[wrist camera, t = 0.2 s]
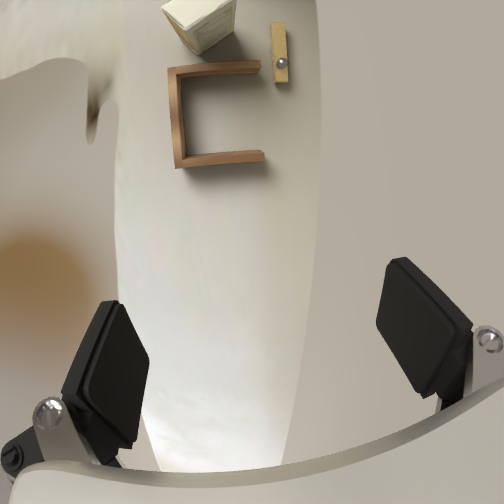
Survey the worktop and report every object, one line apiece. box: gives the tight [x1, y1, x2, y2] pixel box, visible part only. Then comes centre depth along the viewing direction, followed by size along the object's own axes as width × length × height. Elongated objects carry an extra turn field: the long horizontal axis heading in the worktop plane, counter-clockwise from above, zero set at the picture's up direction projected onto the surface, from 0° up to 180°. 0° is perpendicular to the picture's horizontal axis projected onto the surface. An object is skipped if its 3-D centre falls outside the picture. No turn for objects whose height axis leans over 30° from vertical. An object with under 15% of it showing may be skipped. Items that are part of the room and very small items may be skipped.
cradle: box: [168, 60, 264, 169], centre depth 31 cm, size 13×11×4 cm
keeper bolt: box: [271, 22, 289, 83], centre depth 28 cm, size 9×2×3 cm, turn 3°
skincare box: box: [161, 0, 236, 55], centre depth 22 cm, size 6×4×12 cm
